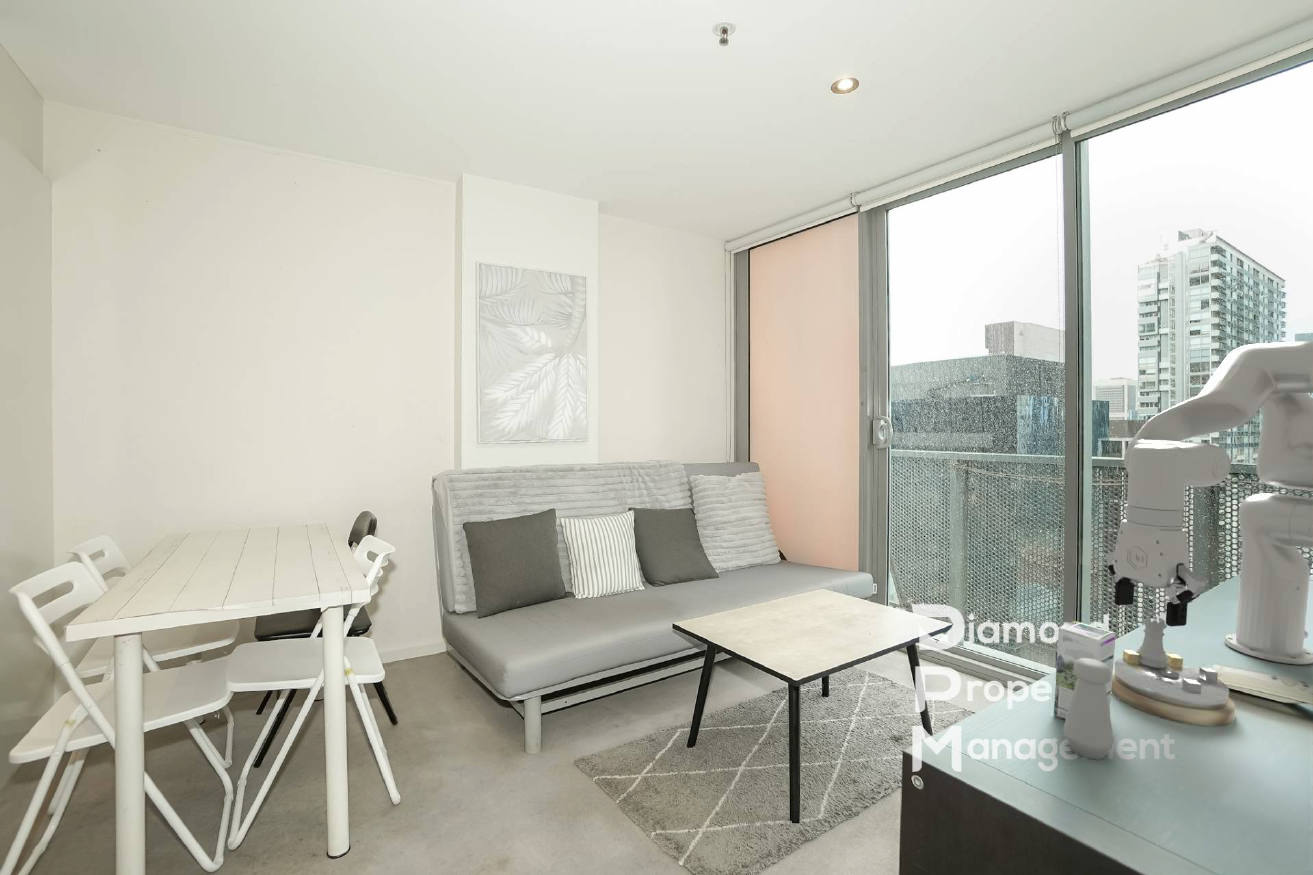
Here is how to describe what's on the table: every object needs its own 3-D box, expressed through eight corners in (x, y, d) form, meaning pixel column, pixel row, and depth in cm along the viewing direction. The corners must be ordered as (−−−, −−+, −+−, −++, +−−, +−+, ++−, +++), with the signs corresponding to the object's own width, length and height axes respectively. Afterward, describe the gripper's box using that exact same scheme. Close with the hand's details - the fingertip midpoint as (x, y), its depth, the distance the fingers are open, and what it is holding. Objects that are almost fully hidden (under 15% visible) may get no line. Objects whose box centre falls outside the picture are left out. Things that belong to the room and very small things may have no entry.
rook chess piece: (1131, 662, 105) (1135, 617, 104) (1138, 655, 108) (1142, 612, 107) (1164, 671, 101) (1168, 625, 101) (1171, 664, 104) (1175, 619, 104)
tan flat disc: (1143, 671, 111) (1144, 660, 111) (1256, 715, 96) (1257, 702, 96) (1085, 686, 105) (1086, 674, 105) (1196, 734, 90) (1197, 721, 90)
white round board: (1099, 680, 102) (1100, 659, 102) (1133, 661, 110) (1134, 641, 110) (1211, 719, 90) (1212, 696, 90) (1240, 694, 98) (1242, 672, 98)
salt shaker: (1121, 766, 82) (1127, 673, 81) (1074, 760, 83) (1080, 669, 82) (1099, 742, 88) (1104, 655, 87) (1055, 737, 89) (1060, 651, 88)
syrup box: (1111, 723, 93) (1117, 631, 92) (1093, 733, 90) (1099, 638, 89) (1069, 706, 98) (1075, 619, 97) (1051, 716, 95) (1057, 626, 94)
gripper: (1091, 507, 111) (1087, 598, 113) (1184, 529, 94) (1177, 636, 96) (1128, 506, 112) (1123, 596, 114) (1226, 527, 95) (1219, 633, 96)
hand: (1148, 614), depth 105 cm, fingers open, 9 cm apart
